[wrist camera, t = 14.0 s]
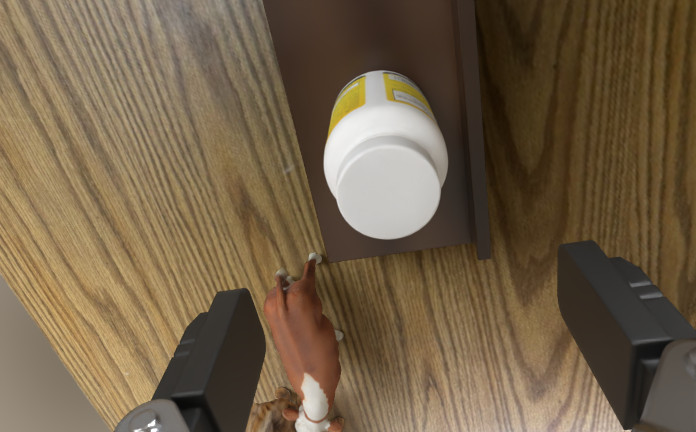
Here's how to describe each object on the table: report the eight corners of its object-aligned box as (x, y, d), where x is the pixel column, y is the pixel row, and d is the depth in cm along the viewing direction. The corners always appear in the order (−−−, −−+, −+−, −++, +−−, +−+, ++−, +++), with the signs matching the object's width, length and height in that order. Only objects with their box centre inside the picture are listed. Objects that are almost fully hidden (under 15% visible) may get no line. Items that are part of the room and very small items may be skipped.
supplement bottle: (338, 168, 28) (326, 260, 20) (325, 74, 26) (304, 132, 17) (432, 159, 28) (461, 249, 19) (427, 63, 25) (459, 116, 17)
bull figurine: (301, 372, 42) (288, 457, 35) (271, 240, 36) (247, 311, 29) (351, 368, 42) (348, 454, 35) (329, 235, 36) (319, 305, 28)
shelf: (333, 229, 35) (326, 281, 30) (267, -45, 27) (241, -45, 22) (471, 208, 34) (491, 259, 28) (446, -84, 26) (468, -97, 20)
